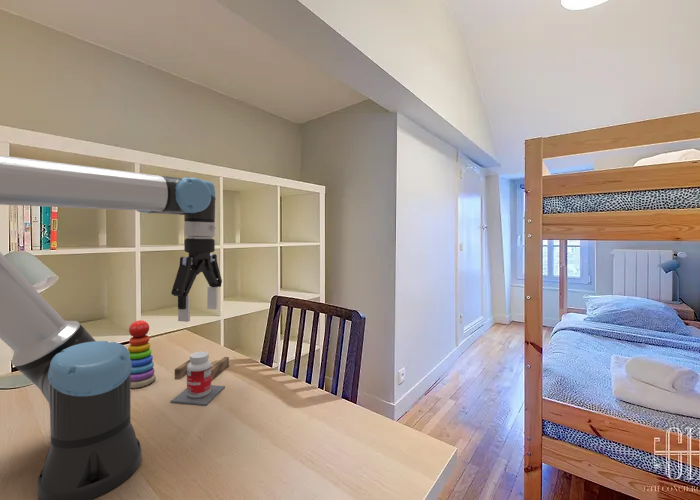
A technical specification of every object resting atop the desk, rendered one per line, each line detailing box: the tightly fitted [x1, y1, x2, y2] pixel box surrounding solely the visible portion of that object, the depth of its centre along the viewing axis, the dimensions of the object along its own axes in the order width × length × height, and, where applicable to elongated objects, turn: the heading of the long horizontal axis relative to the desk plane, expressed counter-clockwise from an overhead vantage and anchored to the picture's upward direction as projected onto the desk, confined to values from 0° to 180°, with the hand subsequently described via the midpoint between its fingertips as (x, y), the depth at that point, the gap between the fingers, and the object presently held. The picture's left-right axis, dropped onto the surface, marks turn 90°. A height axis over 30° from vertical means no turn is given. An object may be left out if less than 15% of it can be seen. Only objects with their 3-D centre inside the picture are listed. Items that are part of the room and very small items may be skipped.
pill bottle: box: [186, 351, 212, 398], centre depth 90 cm, size 6×6×11 cm
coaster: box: [170, 384, 226, 407], centre depth 90 cm, size 10×10×1 cm
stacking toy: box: [127, 319, 157, 389], centre depth 96 cm, size 8×8×19 cm
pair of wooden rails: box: [174, 356, 230, 381], centre depth 104 cm, size 12×12×3 cm
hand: (199, 314), depth 89 cm, fingers open, 13 cm apart
